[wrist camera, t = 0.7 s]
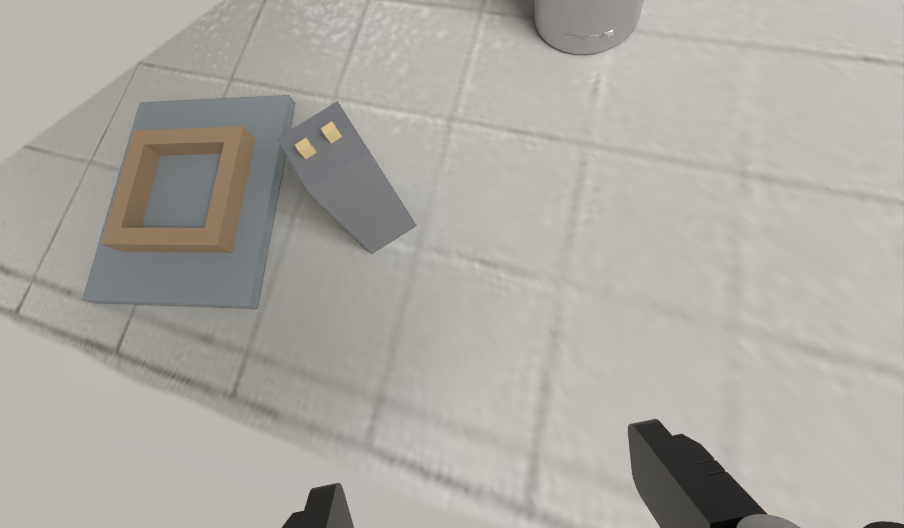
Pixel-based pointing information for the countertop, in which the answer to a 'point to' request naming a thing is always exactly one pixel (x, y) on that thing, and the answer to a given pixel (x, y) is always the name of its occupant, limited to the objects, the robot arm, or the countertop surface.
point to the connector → (346, 178)
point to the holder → (193, 204)
